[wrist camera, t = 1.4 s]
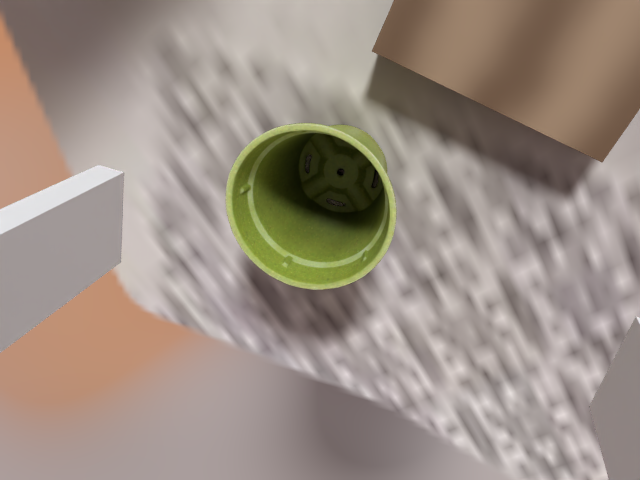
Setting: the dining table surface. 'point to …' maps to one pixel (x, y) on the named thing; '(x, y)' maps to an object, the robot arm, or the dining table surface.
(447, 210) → the dining table surface
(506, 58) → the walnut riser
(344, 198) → the plant pot
